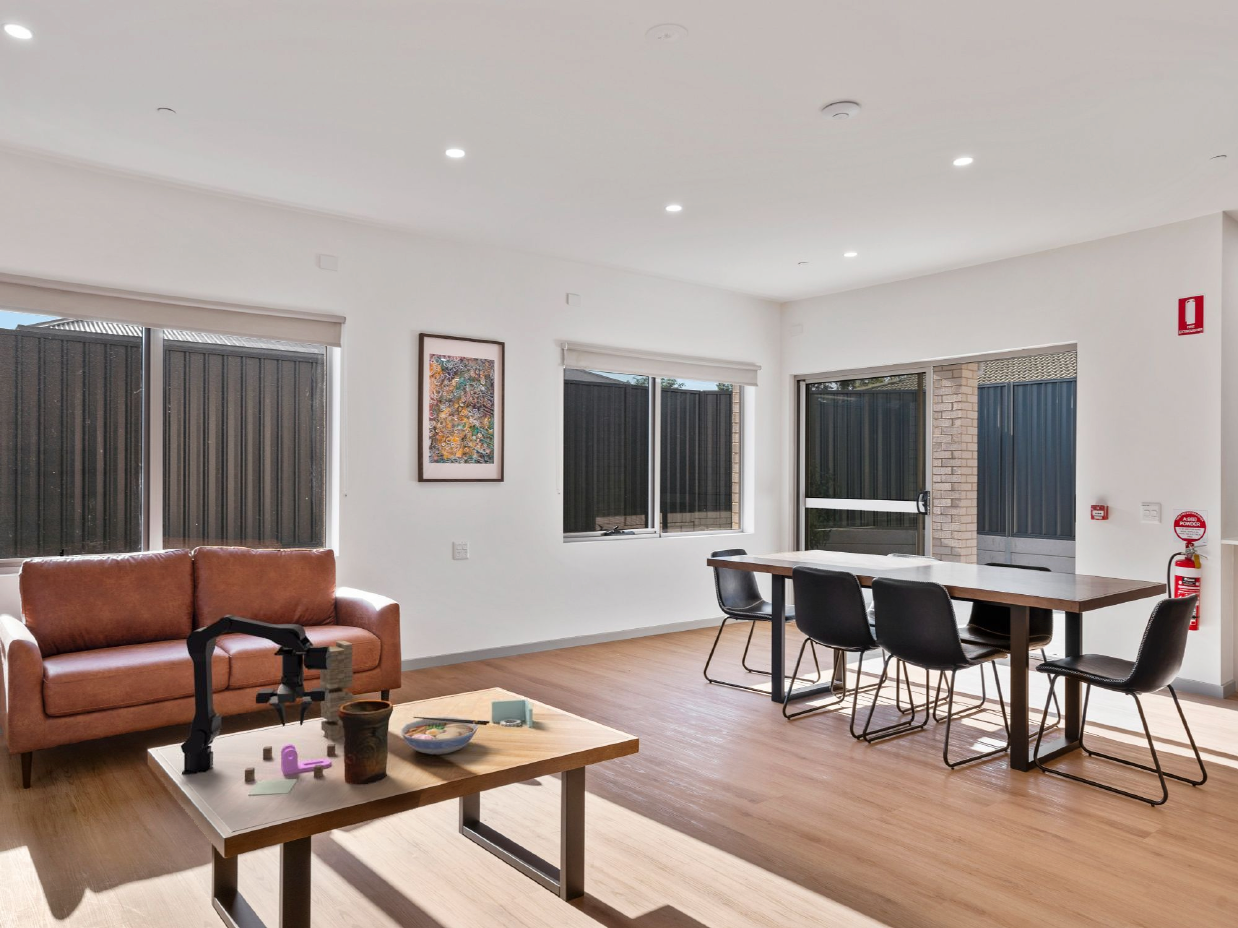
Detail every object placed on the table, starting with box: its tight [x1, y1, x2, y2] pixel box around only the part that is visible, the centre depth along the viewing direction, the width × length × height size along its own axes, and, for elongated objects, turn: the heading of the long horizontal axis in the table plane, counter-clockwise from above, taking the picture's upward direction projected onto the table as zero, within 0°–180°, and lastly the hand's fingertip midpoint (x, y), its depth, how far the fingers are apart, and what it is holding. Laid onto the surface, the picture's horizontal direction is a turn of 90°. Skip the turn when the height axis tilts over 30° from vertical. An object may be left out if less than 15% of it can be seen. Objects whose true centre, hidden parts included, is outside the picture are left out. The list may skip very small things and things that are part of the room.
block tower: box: [319, 640, 354, 741], centre depth 274 cm, size 8×8×29 cm
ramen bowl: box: [400, 716, 490, 755], centre depth 258 cm, size 25×23×8 cm
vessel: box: [338, 699, 394, 786], centre depth 236 cm, size 14×14×20 cm
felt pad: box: [247, 778, 299, 797], centre depth 229 cm, size 10×10×1 cm
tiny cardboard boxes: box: [244, 743, 336, 782], centre depth 245 cm, size 20×20×3 cm
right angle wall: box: [491, 698, 534, 729], centre depth 284 cm, size 12×12×8 cm
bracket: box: [280, 743, 332, 776], centre depth 244 cm, size 13×6×7 cm, turn 117°
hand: (292, 725), depth 245 cm, fingers open, 4 cm apart
